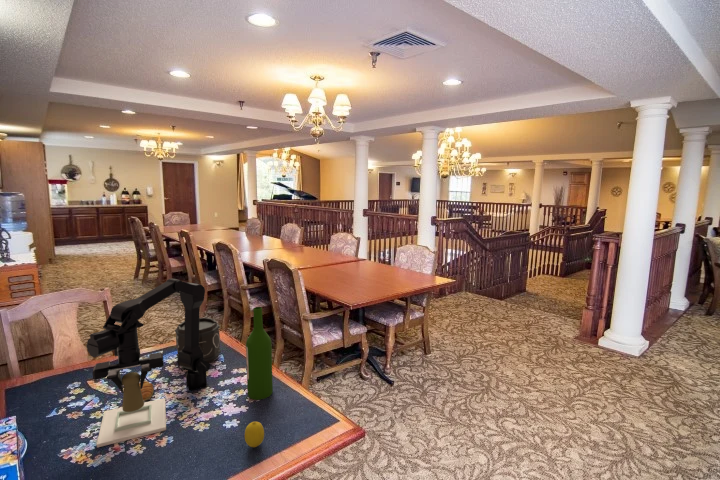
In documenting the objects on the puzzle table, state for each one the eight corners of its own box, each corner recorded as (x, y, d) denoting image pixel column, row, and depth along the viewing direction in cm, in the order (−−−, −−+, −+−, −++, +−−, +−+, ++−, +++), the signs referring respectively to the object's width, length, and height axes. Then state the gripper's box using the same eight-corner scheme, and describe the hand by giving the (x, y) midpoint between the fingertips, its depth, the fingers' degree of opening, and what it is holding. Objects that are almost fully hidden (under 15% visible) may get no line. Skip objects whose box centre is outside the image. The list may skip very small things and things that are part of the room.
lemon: (247, 441, 115) (246, 416, 114) (265, 440, 116) (265, 415, 114) (243, 454, 110) (242, 428, 109) (262, 453, 110) (262, 427, 109)
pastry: (156, 399, 137) (155, 389, 136) (134, 405, 133) (133, 395, 132) (152, 387, 144) (151, 378, 144) (131, 393, 140) (130, 383, 140)
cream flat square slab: (165, 400, 136) (164, 395, 135) (166, 429, 120) (165, 424, 120) (104, 414, 127) (104, 408, 127) (96, 447, 112) (96, 441, 111)
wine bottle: (247, 388, 144) (244, 305, 139) (271, 385, 147) (269, 303, 141) (248, 401, 135) (244, 313, 130) (273, 397, 138) (271, 311, 133)
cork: (134, 413, 119) (131, 380, 118) (117, 410, 121) (114, 377, 119) (148, 402, 125) (146, 370, 123) (132, 399, 126) (129, 368, 125)
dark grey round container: (230, 352, 173) (229, 319, 171) (201, 370, 157) (199, 334, 154) (199, 346, 180) (197, 314, 177) (167, 363, 163) (165, 327, 161)
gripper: (161, 329, 131) (164, 372, 133) (95, 339, 122) (100, 385, 125) (161, 342, 121) (165, 387, 124) (89, 353, 113) (95, 402, 115)
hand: (132, 390), depth 122 cm, fingers closed on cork, 5 cm apart
